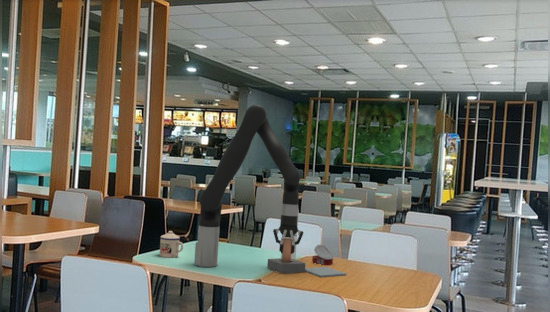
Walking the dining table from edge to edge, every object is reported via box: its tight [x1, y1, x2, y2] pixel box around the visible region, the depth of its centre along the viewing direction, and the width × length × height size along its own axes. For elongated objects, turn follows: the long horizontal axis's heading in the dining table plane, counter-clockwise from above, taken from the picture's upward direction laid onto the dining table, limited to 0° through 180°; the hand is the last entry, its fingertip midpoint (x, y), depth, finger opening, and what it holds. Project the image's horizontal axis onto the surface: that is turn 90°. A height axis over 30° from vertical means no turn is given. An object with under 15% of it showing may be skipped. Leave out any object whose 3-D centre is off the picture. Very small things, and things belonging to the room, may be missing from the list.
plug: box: [282, 238, 292, 262], centre depth 223 cm, size 4×4×12 cm
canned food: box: [311, 244, 334, 266], centre depth 245 cm, size 11×10×10 cm
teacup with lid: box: [159, 230, 184, 259], centre depth 237 cm, size 12×9×12 cm
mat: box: [305, 266, 347, 278], centre depth 223 cm, size 14×14×1 cm
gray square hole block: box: [266, 257, 306, 275], centre depth 223 cm, size 12×12×4 cm
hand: (286, 253), depth 223 cm, fingers closed on plug, 4 cm apart
